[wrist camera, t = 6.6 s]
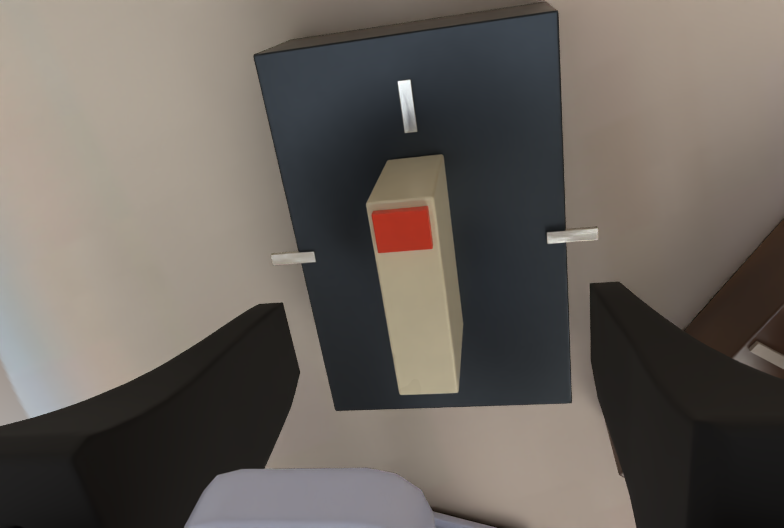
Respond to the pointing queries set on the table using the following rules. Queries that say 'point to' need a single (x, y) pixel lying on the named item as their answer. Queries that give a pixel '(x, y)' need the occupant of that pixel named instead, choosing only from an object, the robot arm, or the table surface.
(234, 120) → the table surface
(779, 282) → the walnut console
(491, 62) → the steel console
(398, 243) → the bar knob
